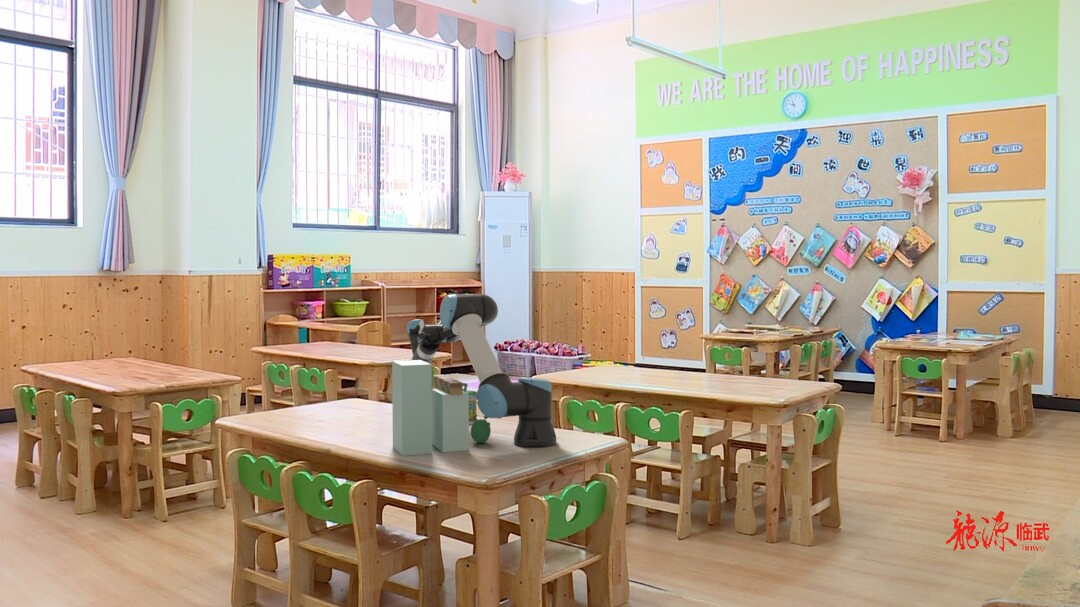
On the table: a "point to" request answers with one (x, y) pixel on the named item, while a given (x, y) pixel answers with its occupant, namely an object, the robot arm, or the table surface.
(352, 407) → the table surface
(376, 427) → the table surface
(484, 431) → the alien toy
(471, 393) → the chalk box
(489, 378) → the robot arm
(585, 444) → the table surface
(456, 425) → the step shelf
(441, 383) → the walnut rod
